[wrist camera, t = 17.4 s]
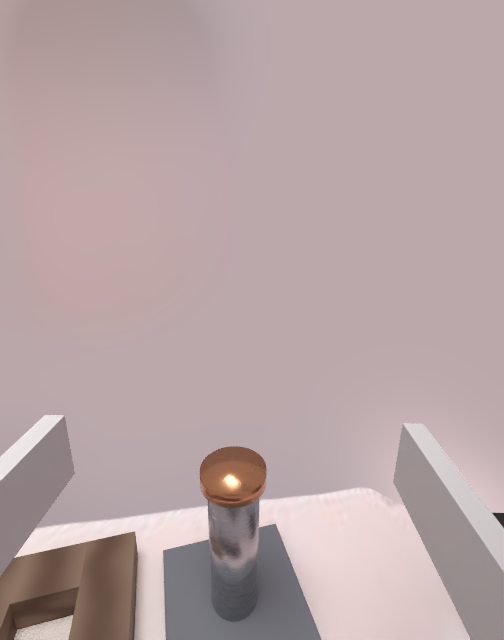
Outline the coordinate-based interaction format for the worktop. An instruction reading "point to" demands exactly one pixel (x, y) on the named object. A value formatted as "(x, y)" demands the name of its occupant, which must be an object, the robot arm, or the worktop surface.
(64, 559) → the bore block
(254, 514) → the steel plug
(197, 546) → the rubber pad
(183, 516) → the worktop surface
